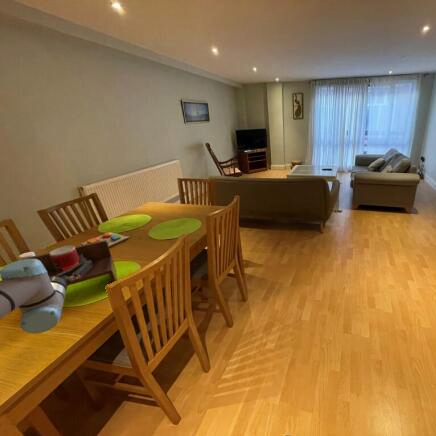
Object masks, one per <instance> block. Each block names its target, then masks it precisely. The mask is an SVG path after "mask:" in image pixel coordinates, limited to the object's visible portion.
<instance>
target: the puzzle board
mask: <svg viewBox="0 0 436 436" xmlns="http://www.w3.org/2000/svg"><path fill="white" fill-rule="evenodd" d="M128 239H130V236H129V235H127V236H126V235H122V234H120V233H117V232H116V233H115V232H112V231H109V232H105V233H102V235H99V236H97V237H92V238H90V239H87V240H86V241H84V242H82V243H80V246H81V245H86V244H90V243H95V242H99V241H104V240H106V241H107V244H108V247H109V248H111V247H112V246H115V245H117V244H119V243H121V242H123V241H126V240H128Z"/></svg>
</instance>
